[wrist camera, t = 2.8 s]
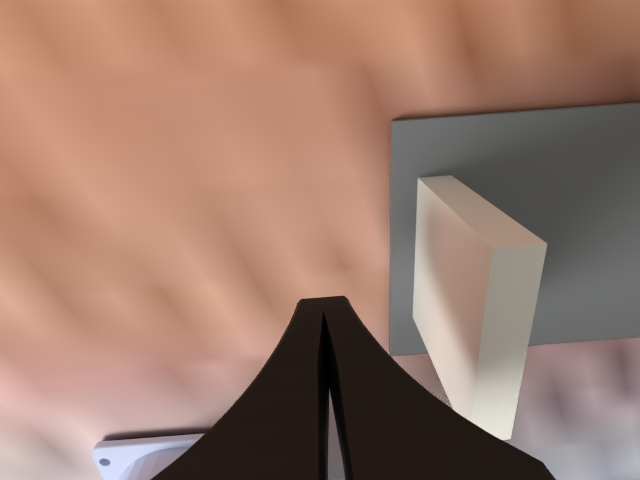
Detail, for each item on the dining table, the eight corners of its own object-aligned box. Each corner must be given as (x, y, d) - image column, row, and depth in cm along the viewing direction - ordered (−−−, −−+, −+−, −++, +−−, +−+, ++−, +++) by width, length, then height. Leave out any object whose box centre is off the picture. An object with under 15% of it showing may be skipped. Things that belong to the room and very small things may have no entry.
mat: (674, 328, 17) (682, 333, 17) (389, 350, 17) (391, 356, 17) (761, 93, 13) (774, 94, 13) (390, 120, 13) (393, 121, 13)
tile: (444, 314, 16) (516, 438, 11) (412, 317, 16) (467, 442, 11) (455, 175, 14) (554, 243, 8) (417, 177, 14) (492, 247, 8)
